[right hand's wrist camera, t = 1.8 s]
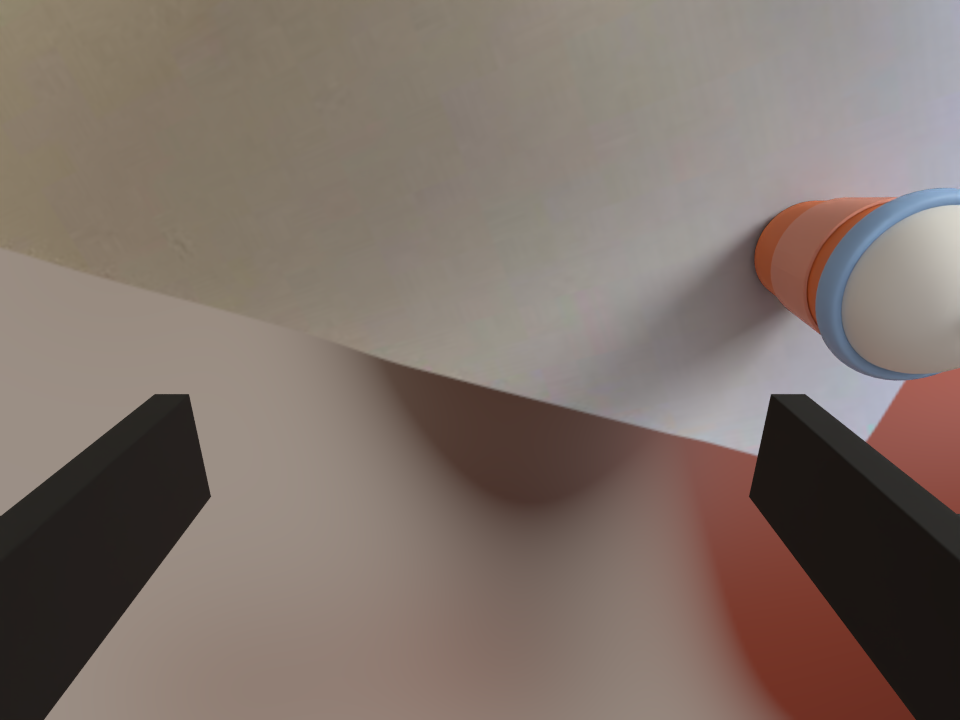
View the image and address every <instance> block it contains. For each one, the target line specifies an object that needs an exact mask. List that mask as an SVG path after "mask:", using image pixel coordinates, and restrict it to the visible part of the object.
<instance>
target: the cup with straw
mask: <svg viewBox="0 0 960 720" xmlns="http://www.w3.org/2000/svg"><path fill="white" fill-rule="evenodd" d="M754 262H755V269H756V273H757V275H758V278H759V280H760V281H761V283H762V284H763V285H764V286H765V287H766V288H767V289H768V290H769V291H770V292H771V293H773V294H774V295H775V296H776V297H777V298H778V299H779V301H780V302H781V303H782V304H783V305H784V306H785V307H786V308H787V309H788V310H789V311H791V312H792V313H793V314H794V315H796V316H797V317H798V318H800V319H801V320H802V321H804V322H805V323H806V324H807V325H809V326H810V327H811V328H813V329H814V330H815V331H816V332H818V333H819V334H820V335H821V336H822V338H823V340H824V342H825V343H826V345H827V347H828V348H829V349H830V350H831V352H832V353H833V354H834V355H835V356H836V357H837V358H838V359H839V360H840V361H841V362H843V363H844V364H846V365H847V366H848V367H850V368H852V369H854V370H856V371H858V372H860V373H862V374H865V375H868V376H871V377H875V378H880V379H886V380H913V379H919V378H924V377H928V376H932V375H935V374H938V373H941V372H945V371H949V370H953V369H957V368H960V189H955V188H935V189H927V190H922V191H917V192H913V193H910V194H906V195H903V196H901V197H873V198H837V199H832V200H828V201H808V202H802V203H799V204H796V205H793V206H791V207H789V208H787V209H785V210H784V211H782V212H781V213H779V214H778V215H777V216H776V217H774V218H773V219H772V220H771V221H770V222H769V224H768V225H767V226H766V227H765V229H764V230H763V232H762V234H761V236H760V238H759V240H758V243H757V246H756V249H755V257H754Z"/></svg>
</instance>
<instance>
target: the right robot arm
mask: <svg viewBox="0 0 960 720" xmlns="http://www.w3.org/2000/svg"><path fill="white" fill-rule="evenodd" d="M210 497H211V495H210V490H209V486H208V481H207V476H206V472H205V467H204V463H203V458H202V453H201V449H200V444H199V439H198V435H197V430H196V425H195V421H194V416H193V411H192V407H191V402H190V397H189V394H155V395H153V396H152V397H151V398H150V399H148V400H147V401H146V402H145V403H143V404H142V405H141V406H139V407H138V408H137V409H136V410H134V411H133V412H132V413H131V414H129V415H128V416H127V417H126V418H124V419H123V420H122V421H120V422H119V423H118V424H117V425H115V426H114V427H113V428H112V429H110V430H109V431H108V432H107V433H105V434H104V435H103V436H102V437H100V438H99V439H98V440H96V441H95V442H94V443H93V444H91V445H90V446H89V447H88V448H86V449H85V450H84V451H83V452H81V453H80V454H79V455H78V456H76V457H75V458H74V459H72V460H71V461H70V462H69V463H67V464H66V465H65V466H64V467H62V468H61V469H60V470H59V471H57V472H56V473H55V474H53V475H52V476H51V477H50V478H48V479H47V480H46V481H45V482H43V483H42V484H41V485H40V486H38V487H37V488H36V489H35V490H33V491H32V492H31V493H29V494H28V495H27V496H26V497H24V498H23V499H22V500H21V501H19V502H18V503H17V504H16V505H14V506H13V507H12V508H11V509H9V510H8V511H7V512H5V513H4V514H3V515H2V516H0V720H44V719H45V718H46V716H47V715H48V713H49V712H50V711H51V710H52V708H53V707H54V706H55V704H56V703H57V701H58V700H59V699H60V697H61V696H62V695H63V693H64V692H65V691H66V690H67V688H68V687H69V685H70V684H71V683H72V681H73V680H74V679H75V677H76V676H77V675H78V673H79V672H80V671H81V669H82V668H83V667H84V665H85V664H86V663H87V661H88V660H89V659H90V657H91V656H92V655H93V653H94V652H95V651H96V649H97V648H98V647H99V645H100V644H101V643H102V641H103V640H104V639H105V637H106V636H107V635H108V633H109V632H110V631H111V629H112V628H113V627H114V625H115V624H116V623H117V621H118V620H119V619H120V617H121V616H122V615H123V613H124V612H125V611H126V609H127V608H128V607H129V605H130V604H131V603H132V601H133V600H134V599H135V597H136V596H137V595H138V593H139V592H140V591H141V589H142V588H143V587H144V585H145V584H146V583H147V581H148V580H149V579H150V577H151V576H152V575H153V573H154V572H155V571H156V569H157V568H158V567H159V565H160V564H161V563H162V561H163V560H164V559H165V557H166V556H167V555H168V553H169V552H170V551H171V549H172V548H173V547H174V545H175V544H176V543H177V541H178V540H179V539H180V537H181V536H182V535H183V533H184V532H185V530H186V529H187V528H188V527H189V525H190V524H191V523H192V521H193V520H194V519H195V517H196V516H197V515H198V513H199V512H200V510H201V509H202V508H203V506H204V505H205V504H206V502H207V501H208V500H209V498H210ZM749 497H750V498H751V500H752V501H753V502H754V504H755V505H756V506H757V508H758V509H759V510H760V512H761V513H762V515H763V516H764V517H765V518H766V520H767V521H768V522H769V524H770V525H771V527H772V528H773V529H774V531H775V532H776V533H777V535H778V536H779V537H780V539H781V540H782V541H783V542H784V544H785V545H786V547H787V548H788V549H789V550H790V552H791V553H792V555H793V556H794V557H795V559H796V560H797V561H798V563H799V564H800V565H801V567H802V568H803V569H804V571H805V572H806V573H807V575H808V576H809V577H810V579H811V580H812V581H813V583H814V584H815V585H816V587H817V588H818V589H819V591H820V592H821V593H822V595H823V596H824V597H825V599H826V600H827V601H828V603H829V604H830V605H831V607H832V608H833V609H834V611H835V612H836V613H837V615H838V616H839V617H840V619H841V620H842V621H843V623H844V624H845V625H846V627H847V628H848V629H849V631H850V632H851V633H852V635H853V636H854V637H855V639H856V640H857V641H858V643H859V644H860V645H861V647H862V648H863V649H864V651H865V652H866V653H867V655H868V656H869V657H870V659H871V660H872V661H873V663H874V664H875V665H876V667H877V668H878V669H879V671H880V672H881V673H882V675H883V676H884V677H885V679H886V680H887V682H888V683H889V684H890V686H891V687H892V688H893V689H894V691H895V692H896V694H897V695H898V696H899V698H900V699H901V700H902V702H903V703H904V704H905V706H906V707H907V708H908V710H909V711H910V712H911V714H912V715H913V716H914V718H915V719H916V720H960V514H956V513H955V512H953V511H952V510H951V509H950V508H948V507H947V506H946V505H944V504H943V503H942V502H941V501H939V500H938V499H937V498H936V497H934V496H933V495H932V494H931V493H929V492H928V491H927V490H925V489H924V488H923V487H922V486H920V485H919V484H918V483H917V482H915V481H914V480H913V479H912V478H910V477H909V476H908V475H907V474H905V473H904V472H903V471H901V470H900V469H899V468H898V467H896V466H895V465H894V464H893V463H891V462H890V461H889V460H888V459H886V458H885V457H884V456H882V455H881V454H880V453H879V452H877V451H876V450H875V449H874V448H872V447H871V446H870V445H869V444H867V443H866V442H865V441H864V440H862V439H861V438H860V437H858V436H857V435H856V434H855V433H853V432H852V431H851V430H850V429H848V428H847V427H846V426H845V425H843V424H842V423H841V422H840V421H838V420H837V419H836V418H834V417H833V416H832V415H831V414H829V413H828V412H827V411H826V410H824V409H823V408H822V407H821V406H819V405H818V404H817V403H816V402H814V401H813V400H812V399H810V398H809V397H808V396H807V395H805V394H771V397H770V402H769V407H768V411H767V416H766V421H765V425H764V430H763V435H762V439H761V444H760V448H759V453H758V458H757V463H756V467H755V472H754V477H753V481H752V486H751V490H750V495H749Z"/></svg>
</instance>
